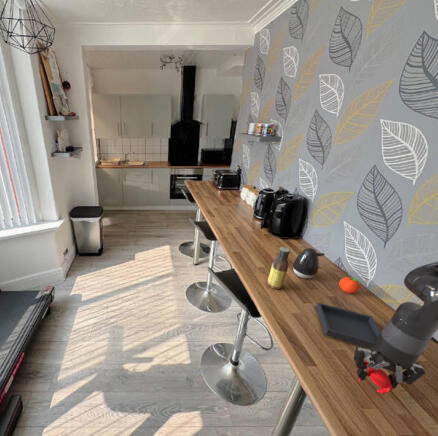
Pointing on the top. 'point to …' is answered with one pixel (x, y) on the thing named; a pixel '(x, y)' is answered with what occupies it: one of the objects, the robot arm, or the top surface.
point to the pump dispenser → (307, 263)
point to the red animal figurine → (380, 380)
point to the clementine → (349, 285)
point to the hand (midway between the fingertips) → (374, 381)
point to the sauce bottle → (279, 269)
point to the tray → (348, 325)
